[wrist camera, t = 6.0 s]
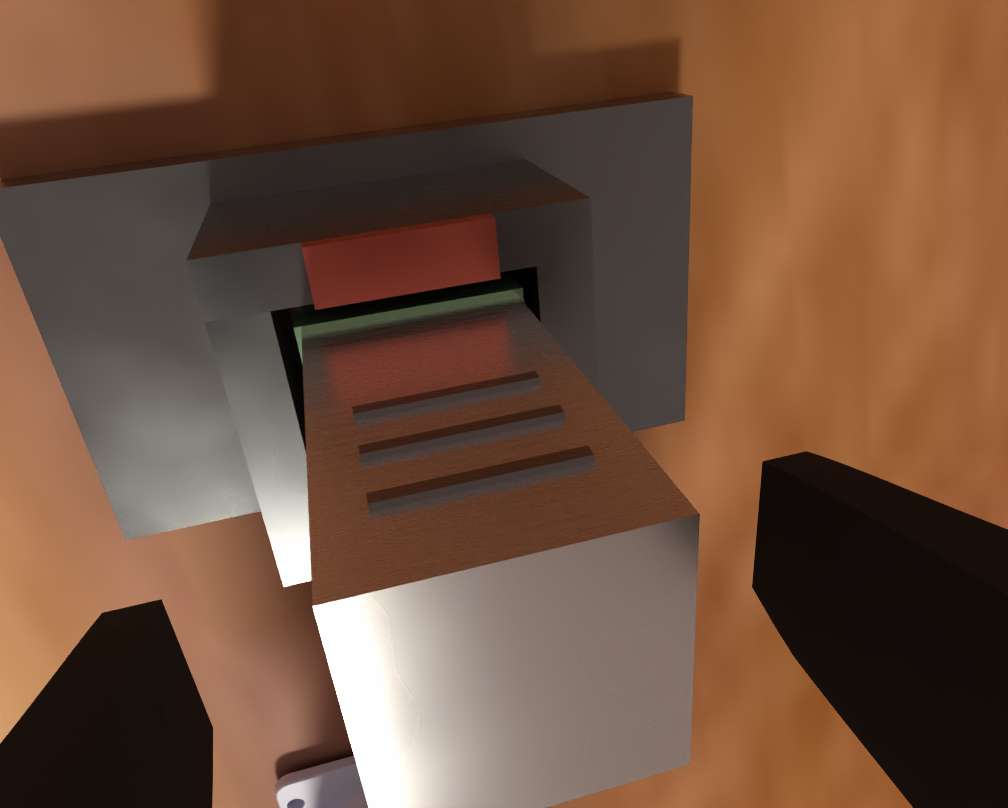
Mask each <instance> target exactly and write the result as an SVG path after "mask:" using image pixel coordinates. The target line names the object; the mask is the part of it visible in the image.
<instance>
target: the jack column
mask: <svg viewBox="0 0 1008 808" xmlns="http://www.w3.org/2000/svg"><path fill="white" fill-rule="evenodd" d="M500 275H501V274H500ZM300 311H301V312H297V313H293V319H294V331H295V336H296V340H297V344H298V348H299V352H300V356H301V361H302V365H303V386H304V410H305V435H306V460H307V485H308V510H309V534H310V559H311V584H312V607H313V610H314V614H315V617H316V621H317V625H318V628H319V632H320V635H321V639H322V643H323V646H324V650H325V653H326V657H327V660H328V664H329V668H330V671H331V675H332V678H333V682H334V685H335V689H336V693H337V696H338V700H339V703H340V707H341V710H342V714H343V718H344V721H345V725H346V728H347V732H348V736H349V739H350V743H351V746H352V750H353V753H354V757H355V761H356V764H357V768H358V771H359V775H360V778H361V782H362V786H363V789H364V793H365V796H366V800H367V804H368V807H369V808H546V807H550V806H553V805H556V804H560V803H563V802H566V801H570V800H573V799H576V798H580V797H583V796H586V795H590V794H593V793H596V792H600V791H603V790H606V789H610V788H613V787H616V786H619V785H623V784H626V783H629V782H633V781H636V780H639V779H643V778H646V777H649V776H653V775H656V774H659V773H663V772H666V771H669V770H673V769H676V768H679V767H682V766H686V765H689V764H690V750H691V724H692V698H693V672H694V646H695V620H696V595H697V569H698V543H699V517H700V514H699V513H698V511H697V510H696V509H695V508H694V507H693V505H692V504H691V503H690V502H689V501H688V499H687V498H686V497H685V496H684V494H683V493H682V492H681V491H680V490H679V488H678V487H677V486H676V485H675V484H674V482H673V481H672V480H671V479H670V478H669V476H668V475H667V474H666V473H665V472H664V470H663V469H662V468H661V467H660V466H659V464H658V463H657V462H656V461H655V460H654V458H653V457H652V456H651V455H650V454H649V452H648V451H647V450H646V449H645V448H644V446H643V445H642V444H641V443H640V442H639V440H638V439H637V438H636V437H635V436H634V434H633V433H632V432H631V431H630V430H629V428H628V427H627V426H626V425H625V423H624V422H623V421H622V420H621V419H620V417H619V416H618V415H617V414H616V413H615V411H614V410H613V409H612V408H611V407H610V405H609V404H608V403H607V402H606V401H605V399H604V398H603V397H602V396H601V395H600V393H599V392H598V391H597V390H596V389H595V387H594V386H593V385H592V384H591V383H590V381H589V380H588V379H587V378H586V377H585V375H584V374H583V373H582V372H581V371H580V369H579V368H578V367H577V366H576V365H575V363H574V362H573V361H572V360H571V359H570V357H569V356H568V355H567V354H566V352H565V351H564V350H563V349H562V348H561V346H560V345H559V344H558V343H557V342H556V340H555V339H554V338H553V337H552V336H551V334H550V333H549V332H548V331H547V330H546V328H545V327H544V326H543V325H542V324H541V322H540V321H539V320H538V319H537V318H536V316H535V315H534V314H533V313H532V312H531V310H530V309H529V308H528V307H527V306H526V304H525V303H524V298H523V288H522V287H521V286H520V284H519V283H518V282H517V281H516V280H515V279H514V278H513V276H508V277H502V275H501V278H500V279H494V280H488V281H482V282H476V283H470V284H465V285H459V286H453V287H447V288H441V289H435V290H429V291H424V292H418V293H412V294H406V295H400V296H394V297H389V298H383V299H377V300H371V301H365V302H359V303H353V304H348V305H342V306H336V307H330V308H324V309H318V310H315V306H314V304H310V305H305V306H300Z"/></svg>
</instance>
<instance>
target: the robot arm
mask: <svg viewBox="0 0 1008 808" xmlns="http://www.w3.org/2000/svg"><path fill="white" fill-rule="evenodd" d="M752 588H753V589H754V591H755V593H756V594H757V596H758V598H759V600H760V601H761V603H762V605H763V607H764V608H765V610H766V612H767V613H768V615H769V617H770V619H771V620H772V622H773V624H774V626H775V627H776V629H777V630H778V632H779V633H780V635H781V637H782V638H783V640H784V641H785V643H786V645H787V646H788V648H789V649H790V651H791V653H792V654H793V656H794V657H795V659H796V660H797V661H798V662H799V664H800V665H801V666H802V668H803V669H804V670H805V672H806V673H807V674H808V676H809V677H810V678H811V679H812V681H813V682H814V683H815V684H816V686H817V687H818V688H819V690H820V691H821V692H822V693H823V695H824V696H825V697H826V699H827V700H828V701H829V702H830V704H831V705H832V706H833V707H834V709H835V710H836V711H837V713H838V714H839V715H840V716H841V718H842V719H843V720H844V721H845V723H846V724H847V725H848V726H849V728H850V729H851V730H852V731H853V733H854V734H855V735H856V736H857V738H858V739H859V740H860V741H861V743H862V744H863V745H864V746H865V748H866V749H867V750H868V751H869V753H870V754H871V755H872V756H873V758H874V759H875V760H876V761H877V763H878V764H879V765H880V767H881V768H882V769H883V770H884V772H885V773H886V774H887V775H888V777H889V778H890V779H891V780H892V782H893V783H894V784H895V785H896V787H897V788H898V789H899V790H900V792H901V793H902V794H903V795H904V797H905V798H906V799H907V800H908V802H909V803H910V804H911V805H912V807H913V808H1008V530H1007V529H1005V528H1002V527H1000V526H997V525H995V524H992V523H989V522H987V521H984V520H982V519H979V518H977V517H974V516H972V515H969V514H967V513H964V512H962V511H959V510H957V509H954V508H952V507H949V506H947V505H944V504H942V503H939V502H937V501H934V500H932V499H929V498H927V497H925V496H922V495H920V494H917V493H915V492H912V491H910V490H907V489H905V488H902V487H900V486H897V485H895V484H893V483H890V482H888V481H885V480H883V479H880V478H878V477H875V476H873V475H870V474H868V473H865V472H863V471H860V470H857V469H855V468H852V467H850V466H847V465H844V464H842V463H839V462H836V461H834V460H831V459H828V458H825V457H822V456H819V455H816V454H813V453H810V452H807V451H806V452H802V453H797V454H793V455H789V456H784V457H780V458H776V459H771V460H767V461H763V464H762V476H761V488H760V500H759V512H758V524H757V536H756V548H755V560H754V572H753V584H752ZM212 790H213V727H212V724H211V722H210V719H209V717H208V714H207V712H206V709H205V707H204V704H203V702H202V699H201V697H200V694H199V692H198V689H197V687H196V684H195V682H194V679H193V677H192V674H191V672H190V669H189V667H188V664H187V662H186V659H185V657H184V654H183V652H182V649H181V647H180V644H179V642H178V640H177V637H176V635H175V632H174V630H173V627H172V625H171V622H170V620H169V617H168V615H167V612H166V610H165V607H164V605H163V602H162V600H157V601H152V602H148V603H143V604H139V605H135V606H130V607H126V608H122V609H117V610H113V611H109V612H104V613H102V614H101V615H100V616H99V618H98V619H97V620H96V621H95V622H94V624H93V625H92V626H91V627H90V629H89V630H88V631H87V632H86V634H85V635H84V636H83V638H82V639H81V640H80V642H79V643H78V644H77V645H76V647H75V648H74V649H73V651H72V652H71V653H70V655H69V656H68V657H67V658H66V660H65V661H64V662H63V664H62V665H61V666H60V668H59V669H58V670H57V672H56V673H55V674H54V675H53V677H52V678H51V679H50V681H49V682H48V683H47V685H46V686H45V687H44V689H43V690H42V691H41V692H40V694H39V695H38V696H37V698H36V699H35V700H34V702H33V703H32V704H31V705H30V707H29V708H28V709H27V711H26V712H25V713H24V714H23V716H22V717H21V718H20V720H19V721H18V722H17V723H16V725H15V726H14V727H13V728H12V730H11V731H10V732H9V734H8V735H7V736H6V737H5V739H4V740H3V741H2V742H1V744H0V808H212ZM275 795H276V800H277V803H278V805H279V808H369V807H368V804H367V800H366V796H365V793H364V789H363V786H362V782H361V778H360V775H359V771H358V768H357V764H356V761H355V757H354V756H351V757H347V758H343V759H340V760H336V761H332V762H329V763H325V764H322V765H318V766H314V767H311V768H307V769H303V770H300V771H296V772H293V773H289V774H287V775H284V776H282V777H281V778H280V779H279V780H278V781H277V783H276V789H275Z"/></svg>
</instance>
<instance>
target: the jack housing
mask: <svg viewBox="0 0 1008 808" xmlns="http://www.w3.org/2000/svg"><path fill="white" fill-rule="evenodd" d="M692 105H693V96H690V95H685V94H679V93H674V92H670V93H662V94H655V95H647V96H639V97H632V98H624V99H616V100H609V101H601V102H594V103H586V104H578V105H571V106H563V107H556V108H548V109H540V110H533V111H525V112H518V113H510V114H502V115H495V116H487V117H480V118H472V119H464V120H457V121H449V122H441V123H434V124H426V125H419V126H411V127H403V128H396V129H388V130H381V131H373V132H365V133H358V134H350V135H343V136H335V137H327V138H320V139H312V140H305V141H297V142H289V143H282V144H274V145H266V146H259V147H251V148H244V149H236V150H228V151H221V152H213V153H206V154H198V155H190V156H183V157H175V158H168V159H160V160H152V161H145V162H137V163H130V164H122V165H114V166H107V167H99V168H92V169H84V170H76V171H69V172H61V173H53V174H46V175H38V176H31V177H23V178H15V179H8V180H0V237H1V239H2V241H3V244H4V246H5V249H6V251H7V254H8V256H9V258H10V261H11V263H12V266H13V268H14V271H15V273H16V275H17V278H18V280H19V283H20V285H21V288H22V290H23V292H24V295H25V297H26V300H27V302H28V305H29V307H30V309H31V312H32V314H33V317H34V319H35V322H36V324H37V326H38V329H39V331H40V334H41V336H42V339H43V341H44V343H45V346H46V348H47V351H48V353H49V356H50V358H51V360H52V363H53V365H54V368H55V370H56V373H57V375H58V377H59V380H60V382H61V385H62V387H63V390H64V392H65V394H66V397H67V399H68V402H69V404H70V407H71V409H72V411H73V414H74V416H75V419H76V421H77V424H78V426H79V428H80V431H81V433H82V436H83V438H84V441H85V443H86V445H87V448H88V450H89V453H90V455H91V458H92V460H93V462H94V465H95V467H96V470H97V472H98V475H99V477H100V479H101V482H102V484H103V487H104V489H105V492H106V494H107V496H108V499H109V501H110V504H111V506H112V509H113V511H114V513H115V516H116V518H117V521H118V523H119V526H120V528H121V530H122V533H123V535H124V538H125V540H129V539H133V538H138V537H143V536H147V535H152V534H157V533H161V532H166V531H171V530H175V529H180V528H185V527H189V526H194V525H199V524H203V523H208V522H213V521H217V520H222V519H227V518H231V517H236V516H241V515H245V514H250V513H255V512H259V511H261V513H262V516H263V519H264V523H265V526H266V529H267V533H268V536H269V539H270V543H271V546H272V550H273V553H274V556H275V560H276V563H277V566H278V570H279V573H280V576H281V580H282V583H283V586H284V587H286V586H290V585H295V584H299V583H303V582H307V581H311V559H310V534H309V510H308V485H307V460H306V435H305V410H304V386H303V365H302V361H301V356H300V352H299V348H298V344H297V340H296V336H295V331H294V319H293V313H297V312H301V311H300V306H305V305H310V304H314V306H315V310H318V309H324V308H330V307H336V306H342V305H348V304H353V303H359V302H365V301H371V300H377V299H383V298H389V297H394V296H400V295H406V294H412V293H418V292H424V291H429V290H435V289H441V288H447V287H453V286H459V285H465V284H470V283H476V282H482V281H488V280H494V279H500V278H501V275H502V277H508V276H513V278H514V279H515V280H516V281H517V282H518V283H519V284H520V286H521V287H522V288H523V298H524V303H525V304H526V306H527V307H528V308H529V309H530V310H531V312H532V313H533V314H534V315H535V316H536V318H537V319H538V320H539V321H540V322H541V324H542V325H543V326H544V327H545V328H546V330H547V331H548V332H549V333H550V334H551V336H552V337H553V338H554V339H555V340H556V342H557V343H558V344H559V345H560V346H561V348H562V349H563V350H564V351H565V352H566V354H567V355H568V356H569V357H570V359H571V360H572V361H573V362H574V363H575V365H576V366H577V367H578V368H579V369H580V371H581V372H582V373H583V374H584V375H585V377H586V378H587V379H588V380H589V381H590V383H591V384H592V385H593V386H594V387H595V389H596V390H597V391H598V392H599V393H600V395H601V396H602V397H603V398H604V399H605V401H606V402H607V403H608V404H609V405H610V407H611V408H612V409H613V410H614V411H615V413H616V414H617V415H618V416H619V417H620V419H621V420H622V421H623V422H624V423H625V425H626V426H627V427H628V428H629V430H630V431H631V432H632V431H637V430H642V429H646V428H651V427H656V426H660V425H665V424H670V423H674V422H679V421H684V420H685V382H686V342H687V302H688V263H689V223H690V184H691V144H692ZM500 274H501V275H500Z"/></svg>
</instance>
